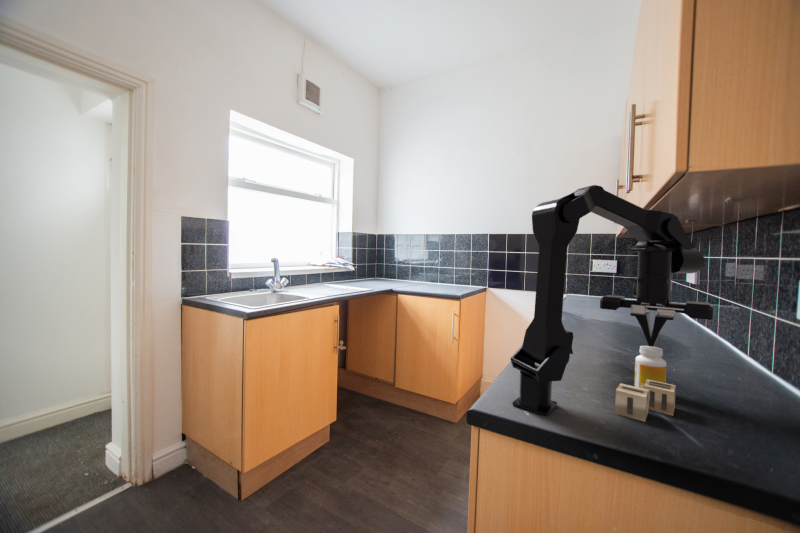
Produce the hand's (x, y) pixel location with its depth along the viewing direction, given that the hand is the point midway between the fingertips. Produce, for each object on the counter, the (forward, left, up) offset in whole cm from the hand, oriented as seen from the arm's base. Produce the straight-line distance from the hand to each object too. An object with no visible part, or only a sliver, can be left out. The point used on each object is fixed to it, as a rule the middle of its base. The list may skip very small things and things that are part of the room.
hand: (651, 346), depth 71 cm
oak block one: (-15, +1, -10) cm, 18 cm away
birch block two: (-8, -2, -10) cm, 13 cm away
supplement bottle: (0, 0, -10) cm, 10 cm away
